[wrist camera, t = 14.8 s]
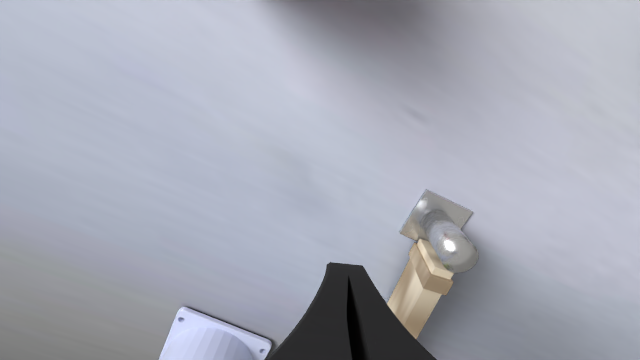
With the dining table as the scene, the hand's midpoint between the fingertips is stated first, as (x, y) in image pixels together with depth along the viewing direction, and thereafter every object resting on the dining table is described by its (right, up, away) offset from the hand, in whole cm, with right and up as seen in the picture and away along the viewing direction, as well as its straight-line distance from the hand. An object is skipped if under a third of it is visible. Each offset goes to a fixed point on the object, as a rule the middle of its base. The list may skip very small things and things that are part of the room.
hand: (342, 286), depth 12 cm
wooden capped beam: (+5, -4, +11) cm, 13 cm away
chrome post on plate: (+7, +1, +10) cm, 12 cm away
